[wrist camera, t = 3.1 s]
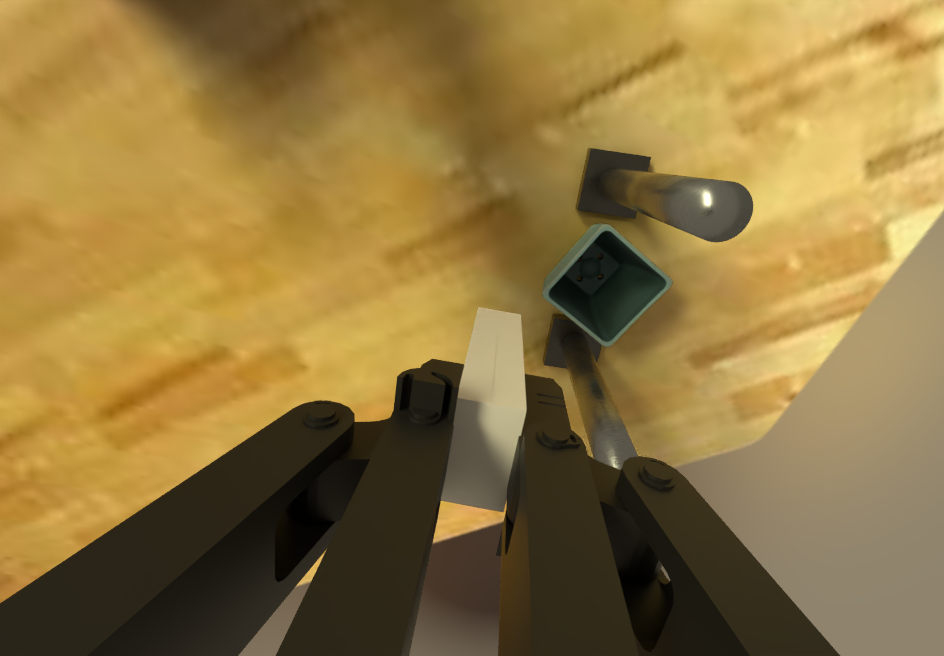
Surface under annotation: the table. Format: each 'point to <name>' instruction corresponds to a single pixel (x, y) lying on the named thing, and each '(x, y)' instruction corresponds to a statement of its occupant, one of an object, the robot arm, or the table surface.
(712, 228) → the post
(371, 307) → the table surface
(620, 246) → the flower pot
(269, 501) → the robot arm
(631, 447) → the post
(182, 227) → the table surface
